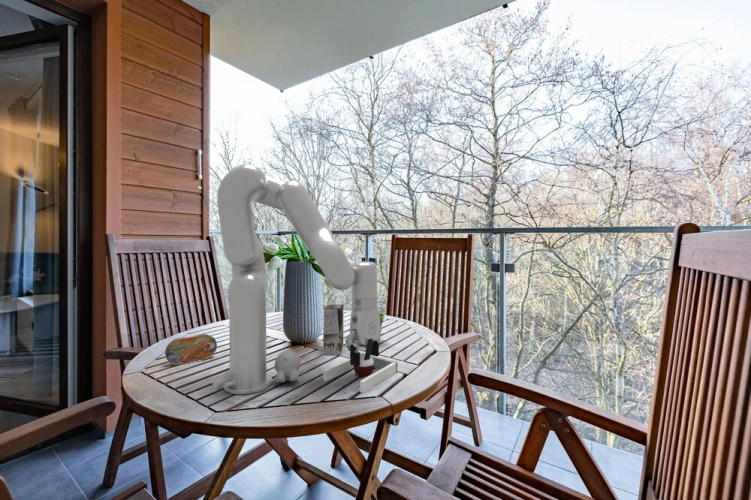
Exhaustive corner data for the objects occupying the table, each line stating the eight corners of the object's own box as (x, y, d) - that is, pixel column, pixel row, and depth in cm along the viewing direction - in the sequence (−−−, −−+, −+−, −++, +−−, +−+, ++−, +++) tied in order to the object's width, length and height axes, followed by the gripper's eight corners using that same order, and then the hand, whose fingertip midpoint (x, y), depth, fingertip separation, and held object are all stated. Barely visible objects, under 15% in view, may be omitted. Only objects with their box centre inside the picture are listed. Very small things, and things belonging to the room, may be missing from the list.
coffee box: (341, 355, 122) (341, 309, 122) (322, 354, 122) (322, 309, 122) (343, 347, 131) (344, 304, 131) (326, 346, 132) (326, 304, 131)
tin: (166, 368, 109) (165, 341, 109) (164, 365, 112) (164, 339, 111) (217, 357, 119) (217, 333, 118) (214, 355, 121) (214, 331, 121)
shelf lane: (363, 393, 93) (363, 381, 92) (323, 380, 100) (323, 370, 100) (397, 371, 107) (397, 362, 107) (360, 362, 115) (360, 353, 115)
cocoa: (353, 371, 109) (352, 332, 109) (373, 369, 109) (372, 331, 109) (353, 382, 99) (352, 340, 100) (375, 381, 100) (374, 338, 100)
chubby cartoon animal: (301, 381, 106) (302, 352, 109) (299, 381, 95) (300, 349, 98) (276, 382, 105) (278, 353, 108) (272, 382, 94) (274, 349, 97)
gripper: (357, 309, 95) (357, 372, 95) (390, 300, 109) (390, 354, 110) (335, 306, 99) (336, 366, 100) (370, 297, 113) (371, 350, 114)
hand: (365, 360), depth 105 cm, fingers open, 9 cm apart
